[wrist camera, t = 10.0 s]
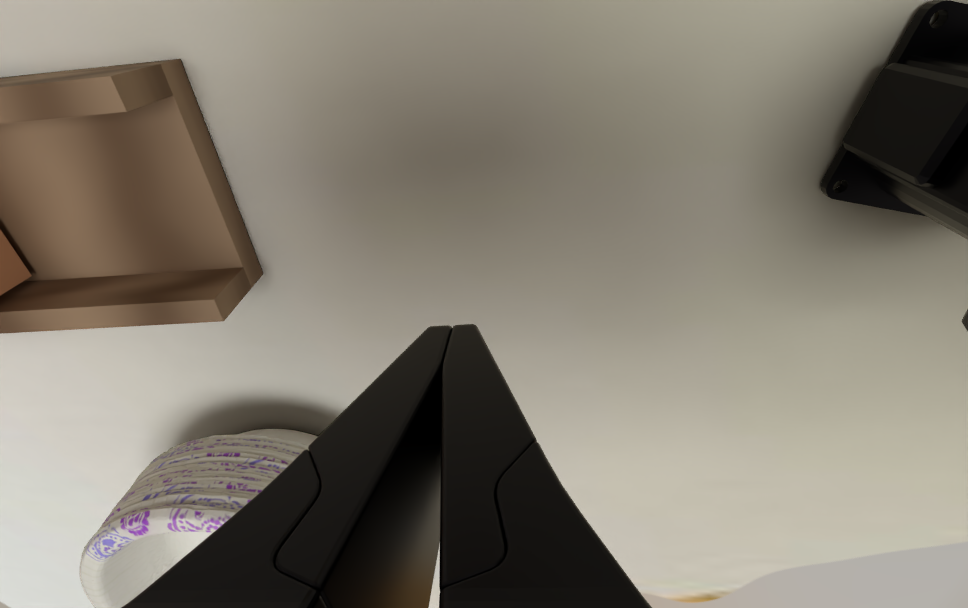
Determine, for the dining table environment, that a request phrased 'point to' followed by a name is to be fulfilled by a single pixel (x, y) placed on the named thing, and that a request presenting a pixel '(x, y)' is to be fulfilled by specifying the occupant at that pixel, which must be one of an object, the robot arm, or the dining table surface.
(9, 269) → the block
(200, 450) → the paper bowls
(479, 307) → the dining table surface
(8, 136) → the brown wooden tray
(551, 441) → the dining table surface
